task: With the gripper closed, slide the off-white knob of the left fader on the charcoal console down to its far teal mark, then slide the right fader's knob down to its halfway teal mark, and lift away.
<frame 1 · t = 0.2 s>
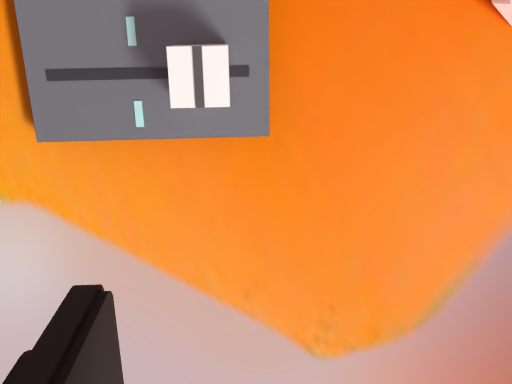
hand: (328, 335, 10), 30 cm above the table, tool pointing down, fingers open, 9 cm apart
console: (147, 3, 36), on the table
fader 1: (200, 74, 34), point 4 cm above the table, slide at 0.0 cm
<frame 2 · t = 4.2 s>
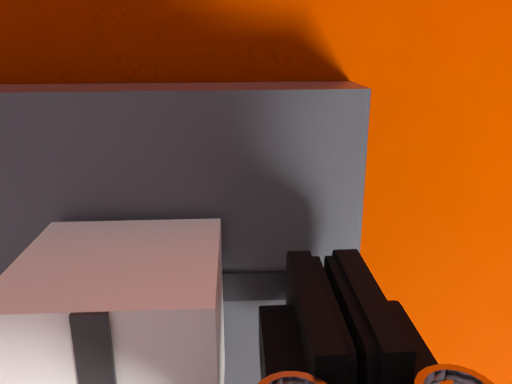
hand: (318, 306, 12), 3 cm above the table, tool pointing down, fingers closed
fader 2: (126, 343, 10), point 4 cm above the table, slide at 0.5 cm, touching gripper
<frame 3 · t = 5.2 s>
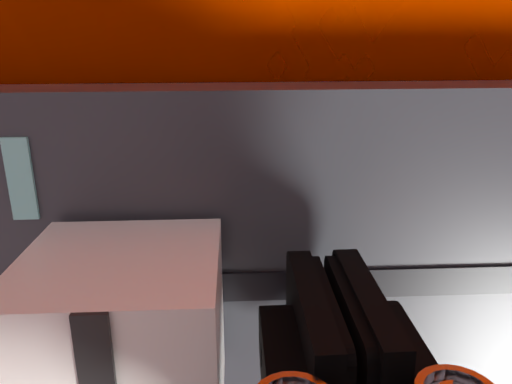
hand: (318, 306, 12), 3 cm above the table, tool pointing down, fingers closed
fader 2: (126, 344, 10), point 4 cm above the table, slide at 6.3 cm, touching gripper
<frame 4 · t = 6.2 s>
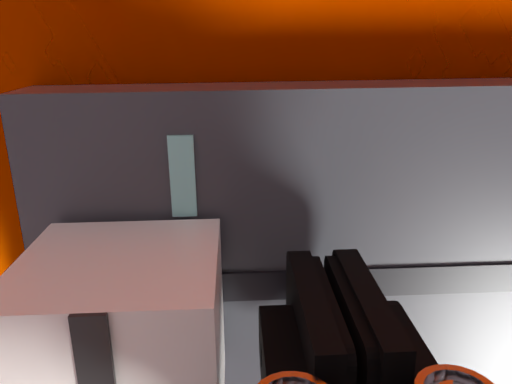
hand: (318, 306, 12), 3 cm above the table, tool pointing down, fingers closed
fader 2: (126, 344, 10), point 4 cm above the table, slide at 10.1 cm, touching gripper
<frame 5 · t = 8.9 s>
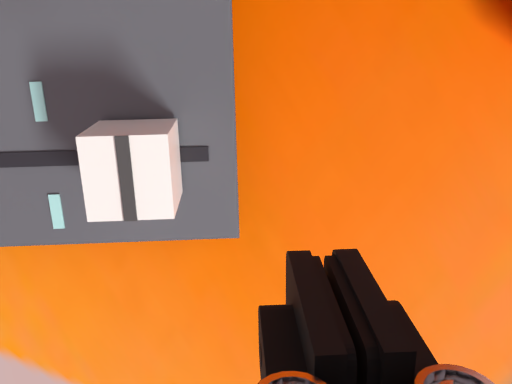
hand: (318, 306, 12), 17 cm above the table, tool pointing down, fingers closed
console: (65, 58, 26), on the table
fader 1: (134, 167, 23), point 4 cm above the table, slide at 0.0 cm
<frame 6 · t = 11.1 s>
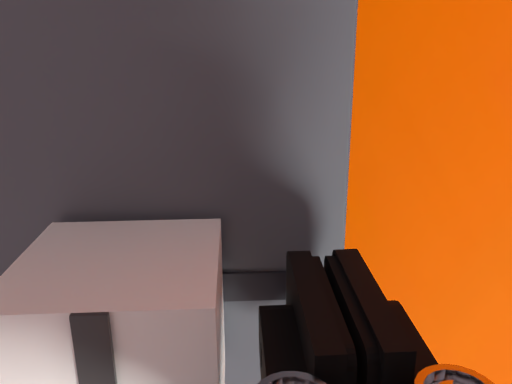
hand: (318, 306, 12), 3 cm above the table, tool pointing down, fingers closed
fader 1: (126, 344, 10), point 4 cm above the table, slide at 0.1 cm, touching gripper
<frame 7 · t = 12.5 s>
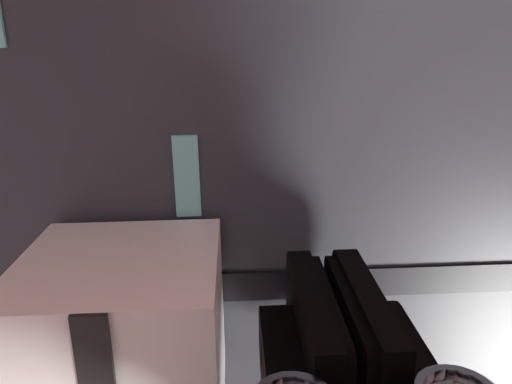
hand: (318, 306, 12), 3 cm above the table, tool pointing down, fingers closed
console: (226, 82, 13), on the table
fader 1: (126, 344, 10), point 4 cm above the table, slide at 6.2 cm, touching gripper
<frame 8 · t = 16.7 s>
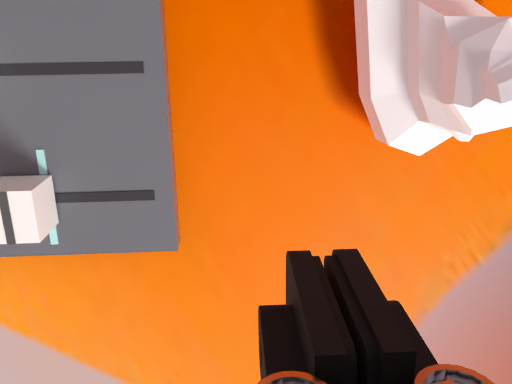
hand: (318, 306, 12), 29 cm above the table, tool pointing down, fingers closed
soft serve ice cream: (417, 60, 39), on the table
console: (60, 131, 39), on the table
fader 1: (18, 208, 36), point 4 cm above the table, slide at 6.3 cm
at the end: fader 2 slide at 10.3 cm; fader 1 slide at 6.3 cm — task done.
